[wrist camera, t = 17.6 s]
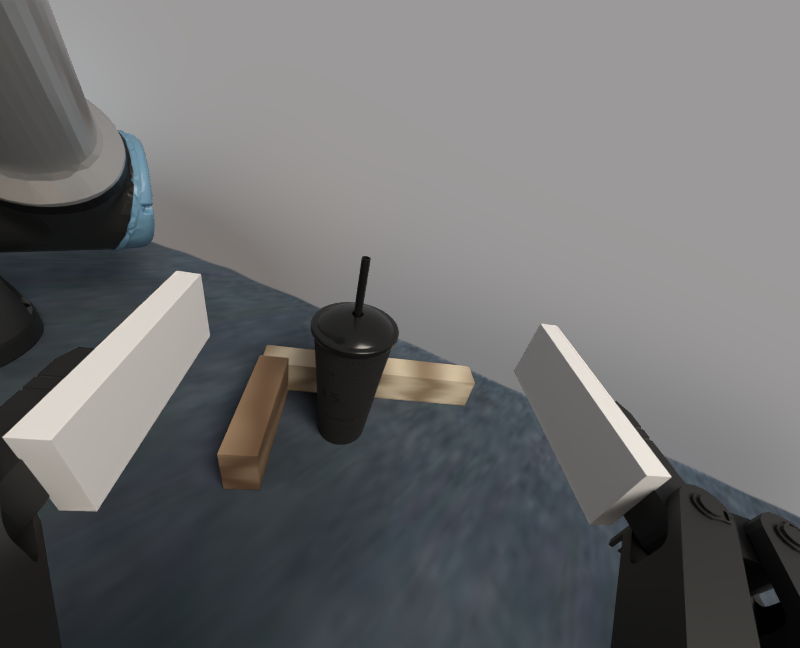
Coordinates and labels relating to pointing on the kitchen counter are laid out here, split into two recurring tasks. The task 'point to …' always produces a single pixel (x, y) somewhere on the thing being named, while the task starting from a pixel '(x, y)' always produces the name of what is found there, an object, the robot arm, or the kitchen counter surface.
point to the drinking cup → (350, 361)
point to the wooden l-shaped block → (297, 371)
